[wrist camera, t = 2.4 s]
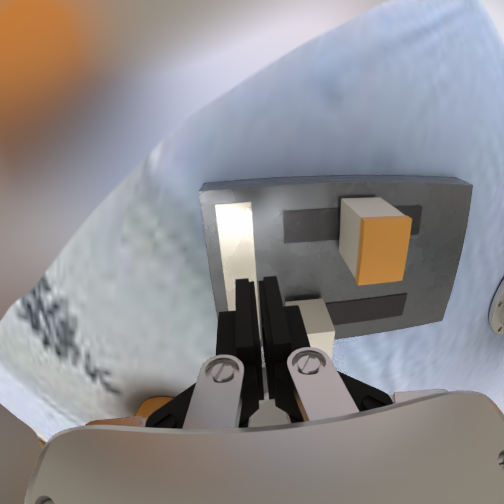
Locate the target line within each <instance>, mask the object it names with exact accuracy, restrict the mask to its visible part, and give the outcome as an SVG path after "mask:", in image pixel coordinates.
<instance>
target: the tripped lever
mask: <svg viewBox="0 0 504 504" xmlns="http://www.w3.org/2000/svg"><path fill="white" fill-rule="evenodd" d="M411 224H412V219H411V218H410V217H409V216H406V215H404V214H403V213H401V212H400V211H399V210H397V209H396V208H395V207H393V206H392V205H390V204H389V203H388V202H386V201H385V200H383V199H382V198H380V197H375V198H341V216H340V238H339V253H340V254H341V256H342V258H343V259H344V261H345V263H346V264H347V266H348V267H349V269H350V271H351V272H352V274H353V276H354V277H355V281H356V283H357V285H358V286H360V285H369V284H378V283H387V282H395V281H402V280H403V275H404V269H405V264H406V258H407V252H408V245H409V239H410V232H411Z"/></svg>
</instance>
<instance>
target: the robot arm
mask: <svg viewBox="0 0 504 504" xmlns="http://www.w3.org/2000/svg"><path fill="white" fill-rule="evenodd" d="M258 284H259V299H260V313H261V328H262V340H263V349H264V358H265V367H266V376H267V385H268V395H269V400H271V399H275V407H278V408H279V409H281V410H282V411H284V412H286V417H287V421H288V423H289V424H282V425H272V426H261V427H250V426H251V416H252V415H253V414H254V413H255V412H256V411H257V410H258V409H259V401H260V400H264V386H263V372H262V358H261V345H260V335H259V325H258V315H257V305H256V295H255V285H254V281H250V282H249V278H244V279H236V280H235V311H222V312H219V315H218V329H217V344H216V356H214V357H211V358H210V359H208V360H207V361H205V362H204V363H203V365H202V367H201V369H200V372H199V376H198V379H197V382H196V383H195V384H193V385H192V386H191V387H189V388H188V389H186V390H185V391H184V392H182V393H181V394H179V395H178V396H176V397H175V398H174V399H172V400H171V401H169V402H168V403H166V404H165V405H163V406H162V407H160V408H159V409H157V410H156V411H154V412H153V413H152V414H151V415H150V416H149V417H148V418H142V416H134V417H126V418H116V419H105V420H95V421H91V422H89V423H87V424H86V425H85V426H79V427H74V428H69V429H66V430H63V431H61V432H58V433H57V434H55V435H53V436H52V437H51V438H50V439H49V440H48V442H47V443H46V444H45V446H44V448H43V450H42V452H41V454H40V456H39V458H38V460H37V463H36V465H35V468H34V471H33V474H32V476H31V480H30V483H29V486H28V490H27V493H26V497H25V501H24V504H504V415H503V413H502V412H501V410H500V409H499V408H498V407H497V405H496V404H495V403H494V402H493V401H492V400H491V399H490V398H489V397H487V396H486V395H484V394H482V393H479V392H474V391H457V390H456V391H447V390H445V389H432V390H421V391H408V392H394V394H393V395H388V394H386V393H385V392H383V391H381V390H379V389H376V388H374V387H372V386H370V385H367V384H365V383H363V382H361V381H358V380H356V379H354V378H352V377H350V376H347V375H345V374H343V373H341V372H339V371H337V370H336V368H335V366H334V365H333V363H332V361H331V359H330V357H329V356H328V355H327V354H326V353H325V352H324V351H322V350H321V349H318V348H314V347H311V346H310V343H309V339H308V336H307V332H306V329H305V325H304V322H303V318H302V315H301V311H300V308H299V306H298V305H293V306H283V302H282V298H281V293H280V289H279V284H278V280H277V276H268V277H263V280H262V281H258ZM489 324H490V327H491V328H492V329H493V331H494V332H495V333H496V334H504V279H503V281H502V283H501V284H500V286H499V288H498V290H497V292H496V294H495V296H494V299H493V301H492V305H491V308H490V313H489Z"/></svg>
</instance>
